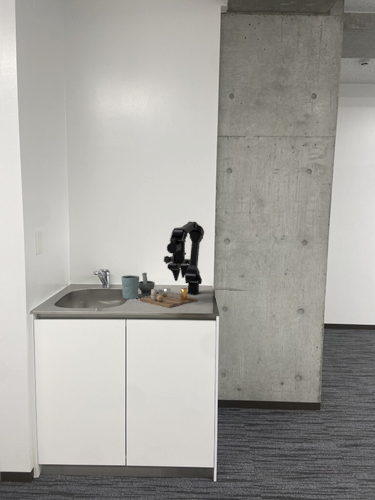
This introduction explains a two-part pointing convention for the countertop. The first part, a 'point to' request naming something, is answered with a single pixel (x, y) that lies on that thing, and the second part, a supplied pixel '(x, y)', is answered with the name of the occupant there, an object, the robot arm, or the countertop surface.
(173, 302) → the board
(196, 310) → the countertop surface
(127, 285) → the teal ceramic pot
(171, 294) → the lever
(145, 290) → the mortar and pestle
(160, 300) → the dough ball
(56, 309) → the countertop surface
